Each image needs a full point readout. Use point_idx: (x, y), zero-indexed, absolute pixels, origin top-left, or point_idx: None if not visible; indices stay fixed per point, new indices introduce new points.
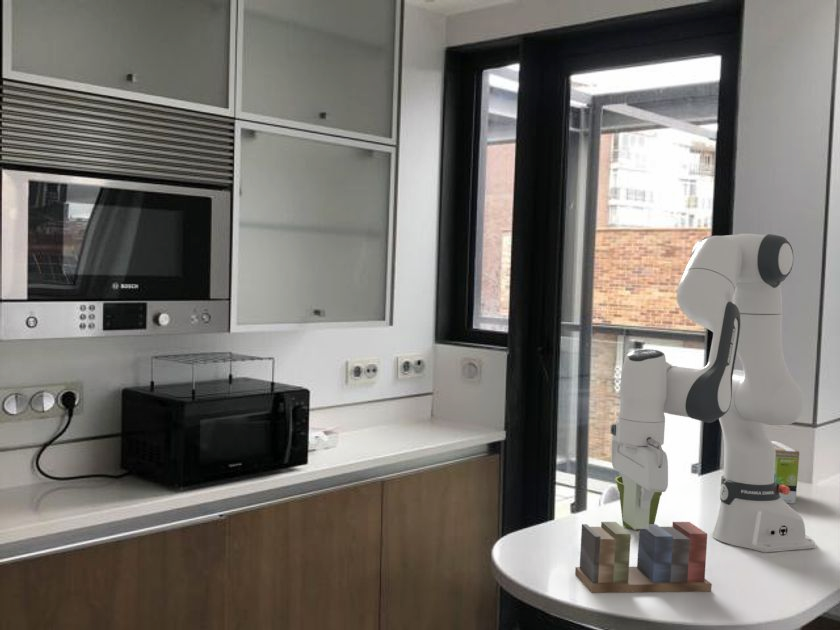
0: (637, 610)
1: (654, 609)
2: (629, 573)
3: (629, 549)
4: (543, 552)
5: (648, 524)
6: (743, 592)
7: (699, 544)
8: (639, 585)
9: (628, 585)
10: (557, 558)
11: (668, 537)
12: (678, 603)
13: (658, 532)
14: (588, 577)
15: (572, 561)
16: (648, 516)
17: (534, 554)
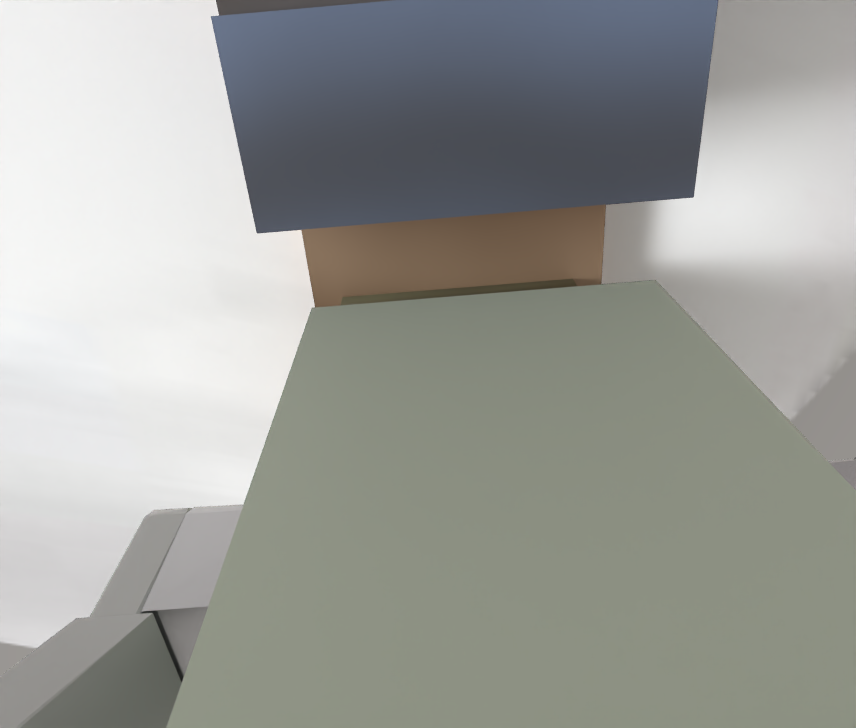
0: (817, 290)
1: (828, 202)
2: (423, 227)
3: None
4: (53, 518)
5: (670, 302)
6: None
7: None
8: (604, 221)
9: (600, 282)
10: (126, 478)
11: (711, 35)
12: (784, 23)
13: (556, 111)
14: None
15: (153, 424)
16: (710, 351)
17: (98, 554)
